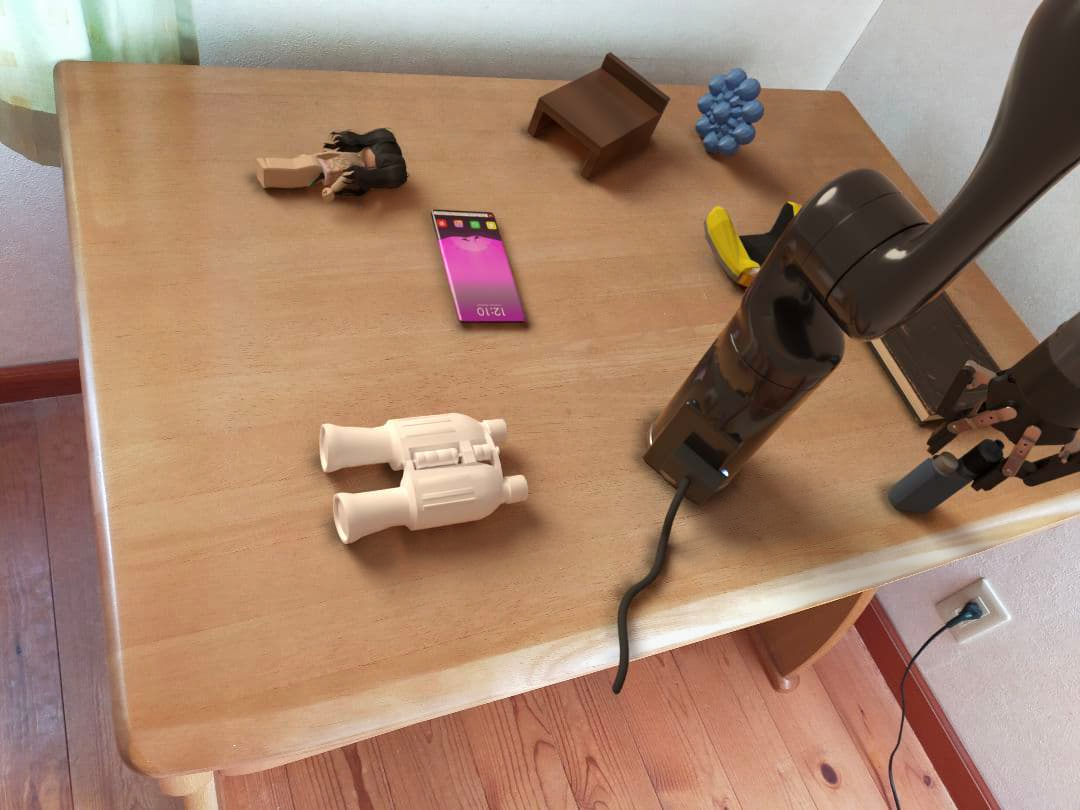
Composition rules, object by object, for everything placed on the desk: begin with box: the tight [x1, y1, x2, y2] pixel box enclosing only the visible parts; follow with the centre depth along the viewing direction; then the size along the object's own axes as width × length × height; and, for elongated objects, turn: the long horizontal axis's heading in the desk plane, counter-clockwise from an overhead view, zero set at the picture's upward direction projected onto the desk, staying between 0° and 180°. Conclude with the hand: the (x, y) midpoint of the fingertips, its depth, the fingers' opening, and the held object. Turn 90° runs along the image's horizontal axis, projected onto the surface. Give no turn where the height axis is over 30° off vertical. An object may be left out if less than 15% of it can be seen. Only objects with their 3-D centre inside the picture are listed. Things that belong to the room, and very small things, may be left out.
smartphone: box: [430, 209, 527, 324], centre depth 91 cm, size 7×15×1 cm, turn 16°
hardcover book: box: [866, 289, 1002, 426], centre depth 108 cm, size 16×23×2 cm
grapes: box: [694, 67, 765, 158], centre depth 114 cm, size 12×7×12 cm, turn 20°
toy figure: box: [255, 127, 410, 202], centre depth 90 cm, size 7×6×15 cm
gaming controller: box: [703, 201, 803, 288], centre depth 105 cm, size 15×6×10 cm
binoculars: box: [318, 412, 529, 545], centre depth 73 cm, size 10×16×5 cm, turn 109°
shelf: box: [526, 51, 671, 181], centre depth 109 cm, size 14×10×7 cm
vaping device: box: [887, 438, 1005, 515], centre depth 87 cm, size 3×5×12 cm, turn 89°
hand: (954, 466), depth 86 cm, fingers closed on vaping device, 4 cm apart
